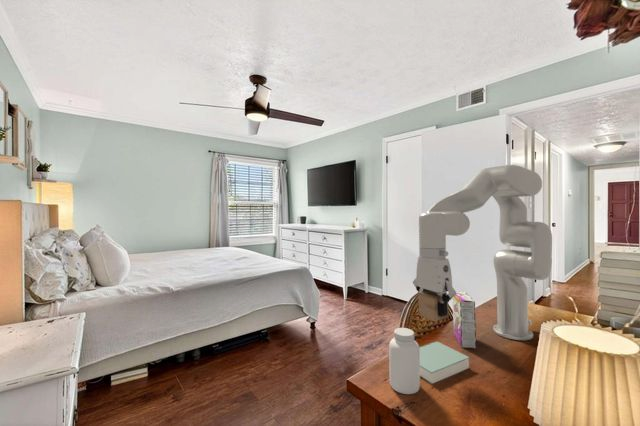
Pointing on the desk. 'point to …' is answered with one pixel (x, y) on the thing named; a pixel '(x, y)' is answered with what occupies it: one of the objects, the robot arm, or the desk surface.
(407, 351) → the pill bottle
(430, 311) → the walnut block
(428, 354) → the book
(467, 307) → the candy bar box
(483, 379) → the desk surface
